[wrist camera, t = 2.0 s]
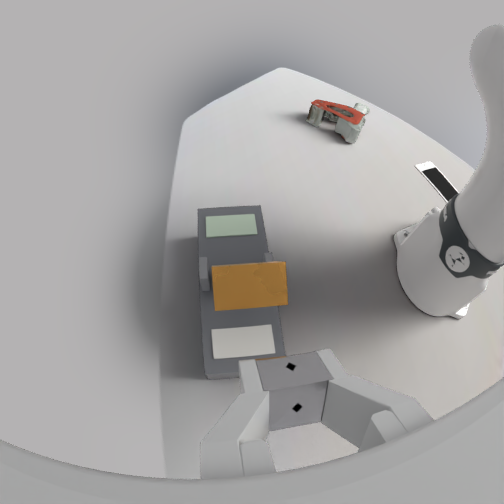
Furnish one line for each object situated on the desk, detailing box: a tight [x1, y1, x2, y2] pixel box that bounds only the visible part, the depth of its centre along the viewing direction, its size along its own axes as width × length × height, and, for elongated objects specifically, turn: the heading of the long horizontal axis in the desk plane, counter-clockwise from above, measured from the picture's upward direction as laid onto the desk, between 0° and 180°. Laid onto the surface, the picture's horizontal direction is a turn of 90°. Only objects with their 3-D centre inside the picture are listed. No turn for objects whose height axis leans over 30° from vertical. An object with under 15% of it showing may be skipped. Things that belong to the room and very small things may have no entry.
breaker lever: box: [212, 261, 288, 311], centre depth 23 cm, size 3×5×14 cm, turn 97°
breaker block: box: [198, 205, 286, 380], centre depth 32 cm, size 20×8×9 cm, turn 7°
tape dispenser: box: [306, 100, 370, 143], centre depth 58 cm, size 18×5×20 cm
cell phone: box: [415, 162, 459, 203], centre depth 52 cm, size 8×16×1 cm, turn 26°
